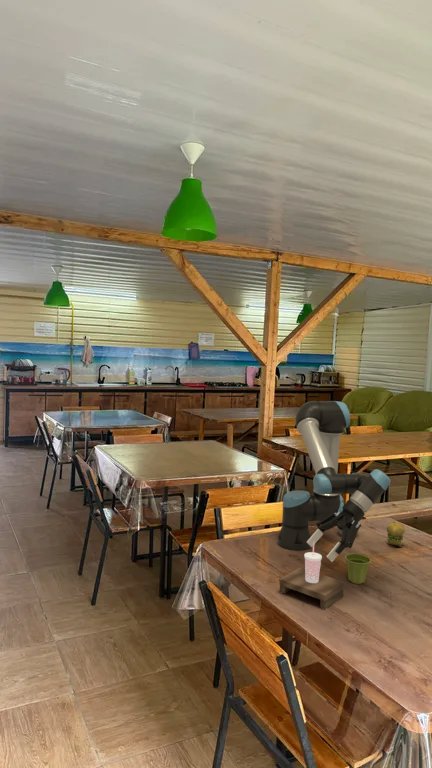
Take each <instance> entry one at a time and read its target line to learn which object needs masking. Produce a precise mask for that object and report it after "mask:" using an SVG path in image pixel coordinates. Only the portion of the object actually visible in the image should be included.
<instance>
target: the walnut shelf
mask: <svg viewBox="0 0 432 768" xmlns="http://www.w3.org/2000/svg"><path fill="white" fill-rule="evenodd" d="M278 585H279V593H280V592H282V593H281V594H283V593H284V594H283V595H285V593H286V592H287V593H289V592H290V591H292V590H293V591H297V592H299V593H301V594H304V595H307V596H310V597H312V598H314V599H318V600H320V602H319V608H320V607H322V608H321V609H323V608H324V609H323V610H325V609H326V608H327V607H328V608H330V607H331V606H332V605H333V603H334V604H335V603H336V602H337V601H339V600H340V599H341V598H342V599H343V597H344V588H345V581H343V580H339V579H337V578H333V577H331V576H327V575H324V574H322V573H319V581H318V582H317V583H309V582H307V581H306V580H305V567H304V568H303V567H301V566H300V567H297V568H296V569H294V570H292V571H291V572H290V573H287V574H285V575H284V576H282V577H281V578H279V581H278ZM291 589H292V590H291ZM288 591H289V592H288ZM287 593H286V594H287ZM330 605H331V606H330ZM329 606H330V607H329ZM328 608H327V609H328ZM327 609H326V610H327Z"/></svg>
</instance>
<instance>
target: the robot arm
mask: <svg viewBox="0 0 432 768" xmlns="http://www.w3.org/2000/svg"><path fill="white" fill-rule="evenodd" d="M294 423H295V427H296V431H297V432H298V433H299V434H300V435H301V437H302V439H303V443H304V445H305V449H306V451H307V454H308V456H309V459H310V461H311V464H312V467H313V470H314V473H315V475H314V476H313V479H312V484H313V490H312V494H311V493H310V492H309V491H306V490H300V489H299V490H291V491H288V492H286V493H285V494H284V496H283V499H282V501H283V502H282V518H281V519H282V522H281V528H280V531H279V534H278V536H277V544H278V546H280V547H282V548H284V549H287V550H294V551H303V550H304V551H305V550H308V549H311V548H313V541H314V545H316V543H317V542H318V541H319V540H320V539H321V538H322V537H323V535H324V533H325V532H326V531H329V530H331V529H333V528H337V526H340V527H342V528H343V531H342V535H341V537H340V540H339V541H338V542H337V543H336V544H335V546H334V547H332V549H331V550H330V552H329V553H328V554H326V558H327V559H328V560H329V561H330V562H331V563H333V562H334V560H336V558H338V556H339V555H341V554H342V552H343V551H344V550H345V549H347V548H348V549H352V547H353V546H354V543H355V539H356V538H357V535H358V532H359V530H360V528H361V526H362V524H361V523H360V521H361V520H362V518H364V517H365V515H366V513H367V512H368V511H369V510H370V509H371V508H372V507H373V505H375V503H376V502H377V500H378V499H379V498H380V497H381V496H382V495H383V494H384V492H386V491H387V489H388V487H389V486H390V484H392V483H391V478H390V477H389V476H388V475H387V474H386V473H385V472H384V471H382V470H380V469H378V468H377V469H373V470H372V471H371V472H370V473H369V474H365V473H362V472H352V473H338V471H339V470H338V468H339V456H340V443H341V442H340V441H341V436H342V435H343V434H344V433H345V429H347V428H348V427H349V426H350V424H351V414H350V410H349V407H348V405H347V404H346V403H344V402H342V401H336V400H320V401H319V400H311V401H307V402H304V403H303V404H302V405H301V406H300V407H299V408H298V410H297V412H296V414H295V418H294ZM351 494H352V495H351ZM342 495H351V496H350V497H349V500H346V501H345V503H344V498H343V496H342ZM358 521H359V522H358ZM310 522H316V523H315V525H316V527H317V528H316V530H315V531H314V532H313V533H312V535H311V533H310V528H309V523H310ZM358 529H359V530H358Z"/></svg>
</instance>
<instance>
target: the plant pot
mask: <svg viewBox="0 0 432 768" xmlns="http://www.w3.org/2000/svg"><path fill="white" fill-rule="evenodd" d="M344 559H345V561H346V565H347V577H348V581H350V582H351V583H352V584H357V585H358V584H359V585H360V584H365V583H366V578H367V574H368V573H367V572H368V568H369V566H370V563H371V562H372V560H371V558H370V557H368V556H367V555H364V554H361V553H348V554H345V556H344Z"/></svg>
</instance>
